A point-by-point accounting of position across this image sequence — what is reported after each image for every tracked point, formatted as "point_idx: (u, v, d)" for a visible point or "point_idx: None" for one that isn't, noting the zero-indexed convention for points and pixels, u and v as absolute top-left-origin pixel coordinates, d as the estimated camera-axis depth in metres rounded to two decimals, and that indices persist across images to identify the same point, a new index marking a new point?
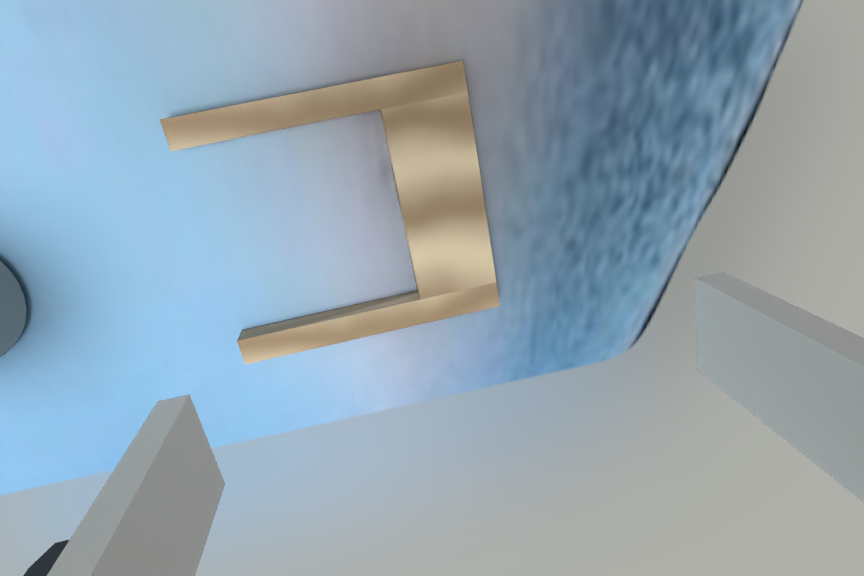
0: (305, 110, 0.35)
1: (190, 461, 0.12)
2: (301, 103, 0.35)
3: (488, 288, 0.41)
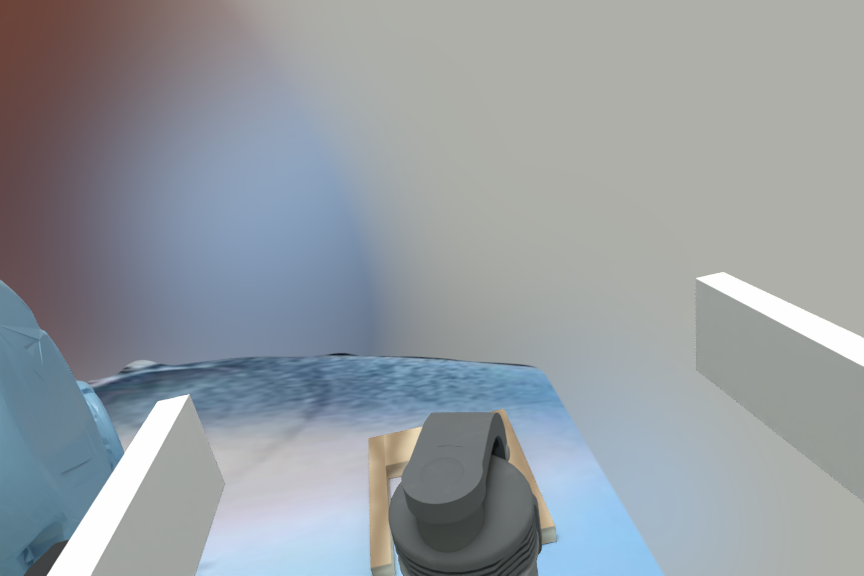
0: (379, 496, 0.59)
1: (190, 461, 0.12)
2: (375, 498, 0.59)
3: None
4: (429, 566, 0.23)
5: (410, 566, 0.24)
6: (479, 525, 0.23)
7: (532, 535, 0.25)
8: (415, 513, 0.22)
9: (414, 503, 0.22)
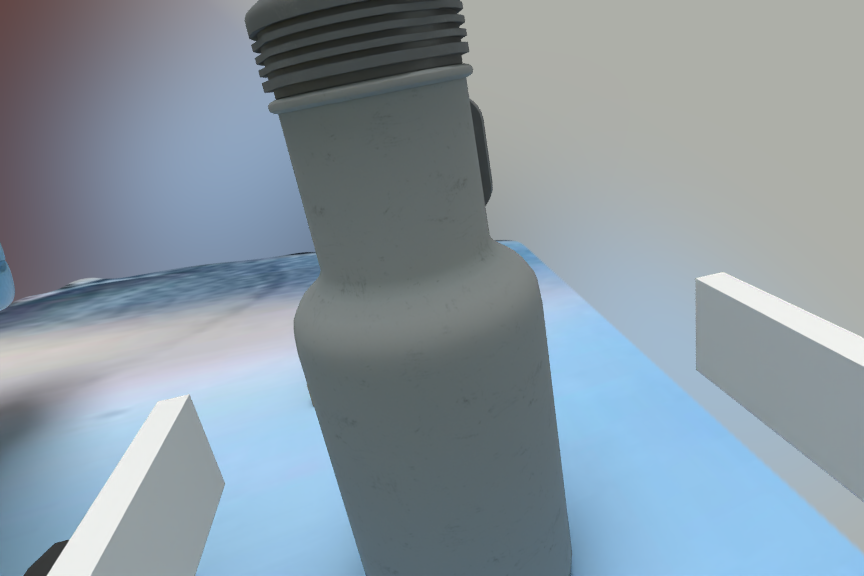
0: None
1: (190, 461, 0.12)
2: None
3: None
4: (289, 10, 0.15)
5: (268, 49, 0.16)
6: None
7: (456, 15, 0.16)
8: None
9: None
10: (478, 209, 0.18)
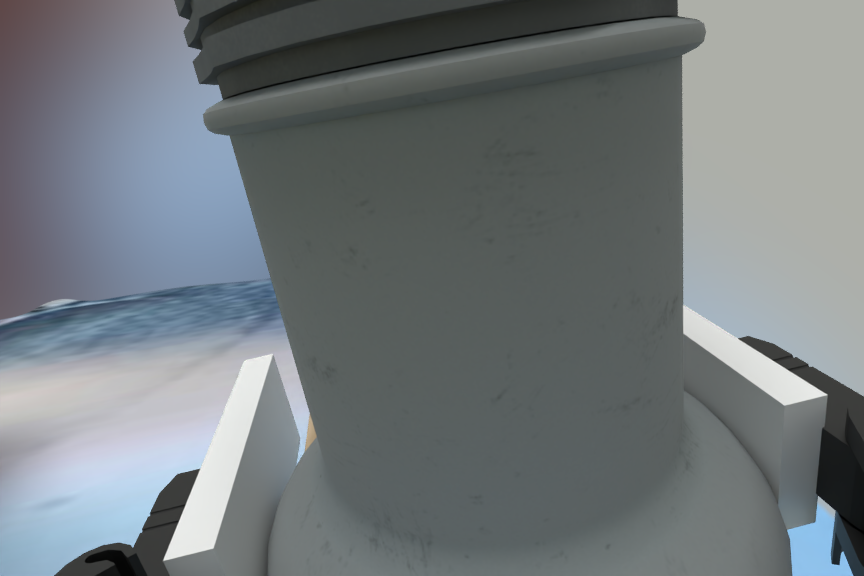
0: None
1: (278, 412, 0.13)
2: None
3: None
4: None
5: None
6: None
7: None
8: None
9: None
10: (682, 353, 0.08)
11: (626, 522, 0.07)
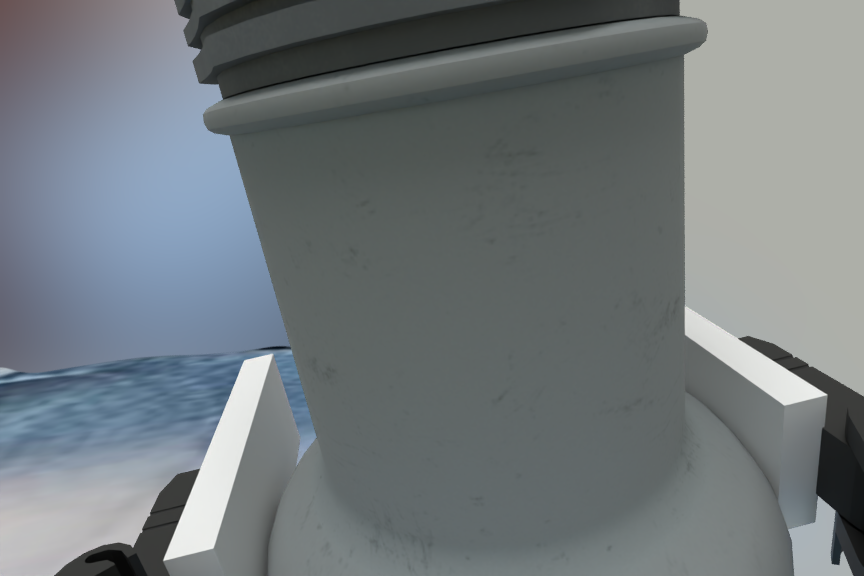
0: None
1: (278, 412, 0.13)
2: None
3: None
4: None
5: None
6: None
7: None
8: None
9: None
10: (683, 354, 0.08)
11: (628, 523, 0.07)
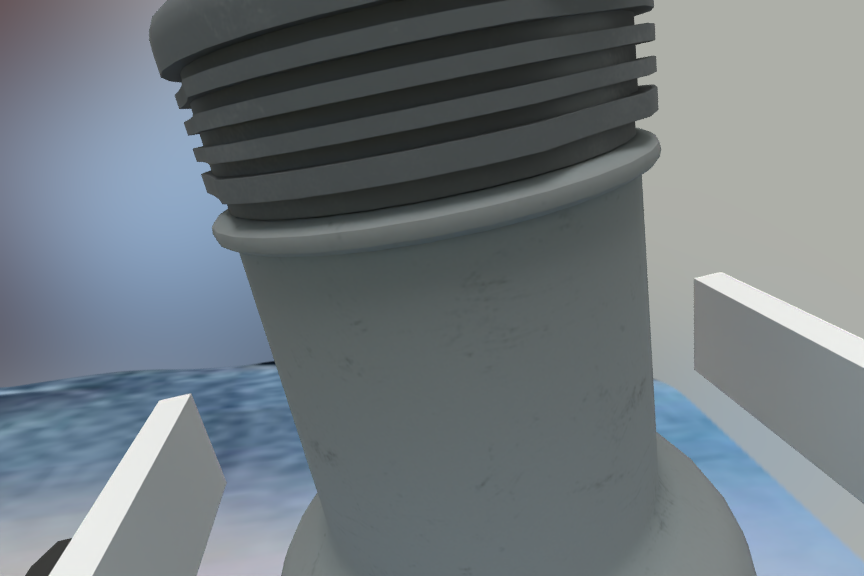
0: None
1: (192, 460, 0.12)
2: None
3: None
4: (239, 16, 0.05)
5: (197, 114, 0.06)
6: None
7: (652, 26, 0.07)
8: None
9: None
10: (653, 423, 0.09)
11: None
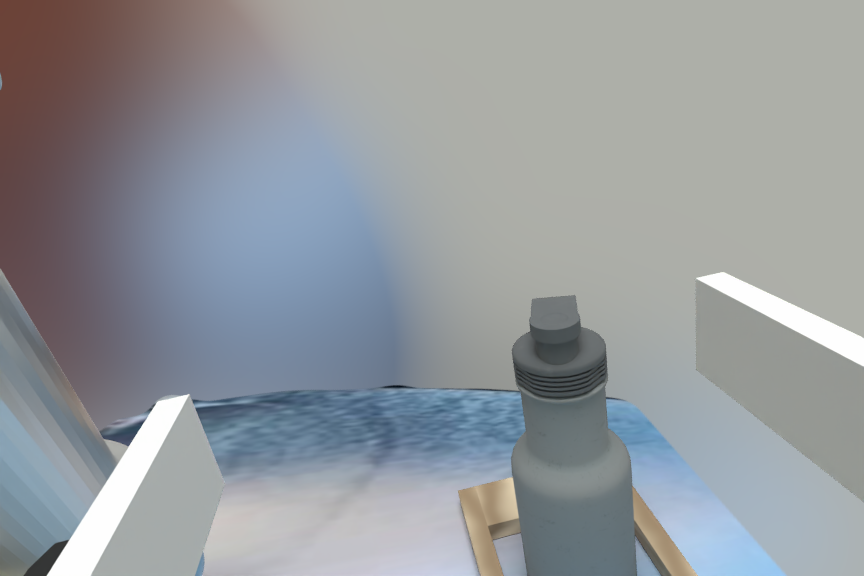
0: (491, 566, 0.51)
1: (190, 461, 0.12)
2: (486, 569, 0.51)
3: None
4: (548, 374, 0.38)
5: (533, 380, 0.39)
6: (577, 349, 0.38)
7: (605, 361, 0.40)
8: (541, 339, 0.38)
9: (541, 332, 0.37)
10: (607, 428, 0.42)
11: (596, 460, 0.41)
